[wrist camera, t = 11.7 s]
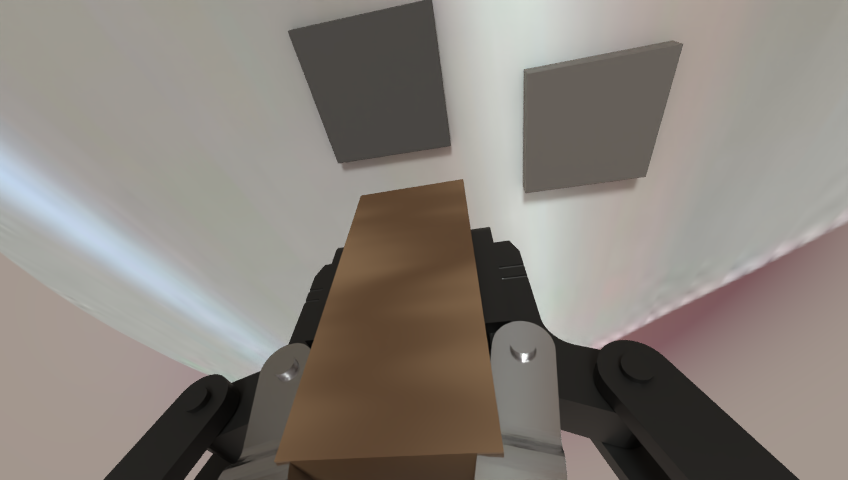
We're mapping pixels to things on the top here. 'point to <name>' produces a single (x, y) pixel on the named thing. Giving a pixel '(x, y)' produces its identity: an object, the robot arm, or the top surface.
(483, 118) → the top surface
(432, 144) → the mat
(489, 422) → the block
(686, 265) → the top surface
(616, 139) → the tile
